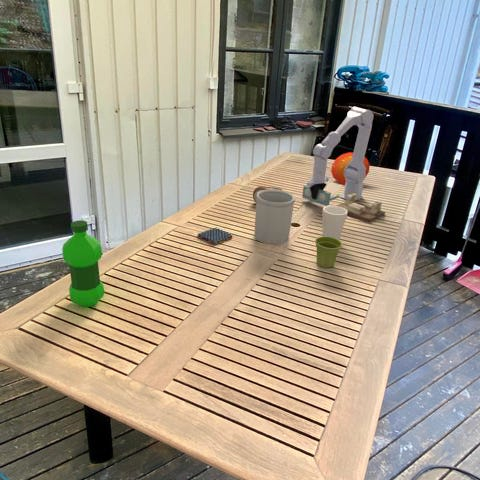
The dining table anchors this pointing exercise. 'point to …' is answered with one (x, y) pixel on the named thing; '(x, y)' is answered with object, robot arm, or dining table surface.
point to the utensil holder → (273, 216)
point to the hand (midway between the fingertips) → (315, 198)
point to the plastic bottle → (83, 265)
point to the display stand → (362, 209)
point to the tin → (261, 190)
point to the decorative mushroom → (344, 166)
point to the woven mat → (214, 236)
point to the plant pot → (327, 250)
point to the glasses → (318, 196)
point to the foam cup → (333, 221)
